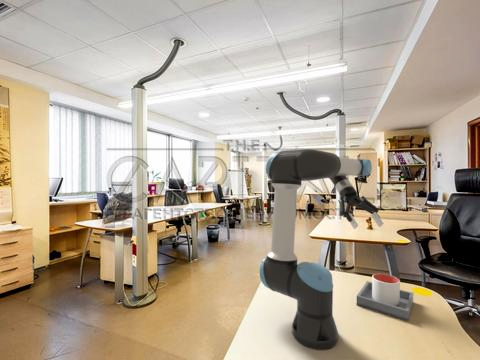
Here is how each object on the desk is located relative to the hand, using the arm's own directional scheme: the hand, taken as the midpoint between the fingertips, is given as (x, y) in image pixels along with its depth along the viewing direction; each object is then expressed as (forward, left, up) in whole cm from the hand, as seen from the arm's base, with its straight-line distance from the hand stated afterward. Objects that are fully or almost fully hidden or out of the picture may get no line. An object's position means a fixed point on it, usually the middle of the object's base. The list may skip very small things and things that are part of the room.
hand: (368, 226), depth 110 cm
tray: (+7, -3, -32) cm, 33 cm away
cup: (+7, -3, -31) cm, 32 cm away
